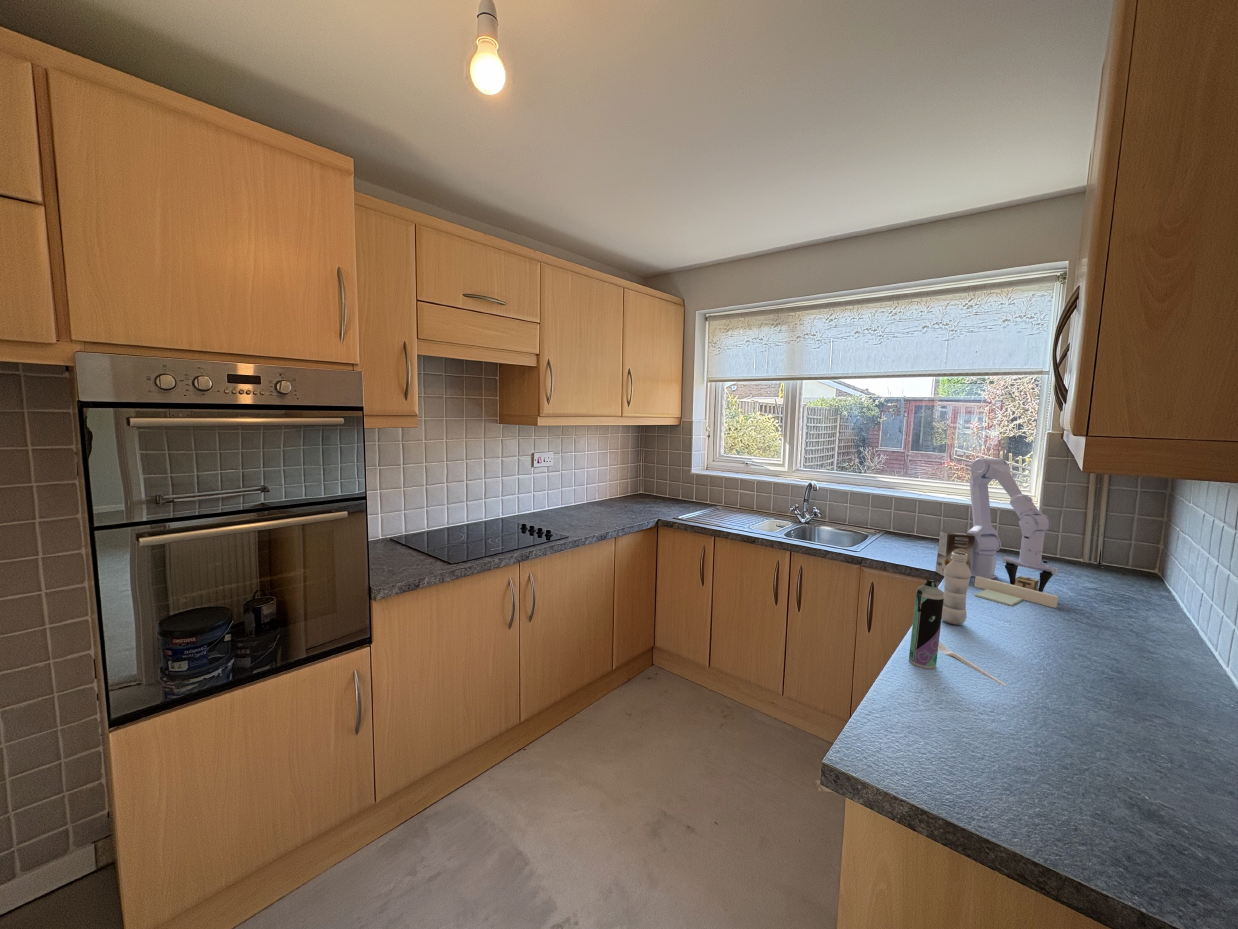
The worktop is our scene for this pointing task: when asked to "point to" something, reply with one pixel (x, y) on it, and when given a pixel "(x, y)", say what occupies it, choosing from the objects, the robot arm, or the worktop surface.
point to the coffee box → (953, 548)
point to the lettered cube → (1027, 583)
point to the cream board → (1017, 591)
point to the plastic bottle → (956, 589)
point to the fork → (965, 661)
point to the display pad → (998, 597)
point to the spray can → (926, 625)
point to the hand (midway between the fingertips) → (1026, 589)
